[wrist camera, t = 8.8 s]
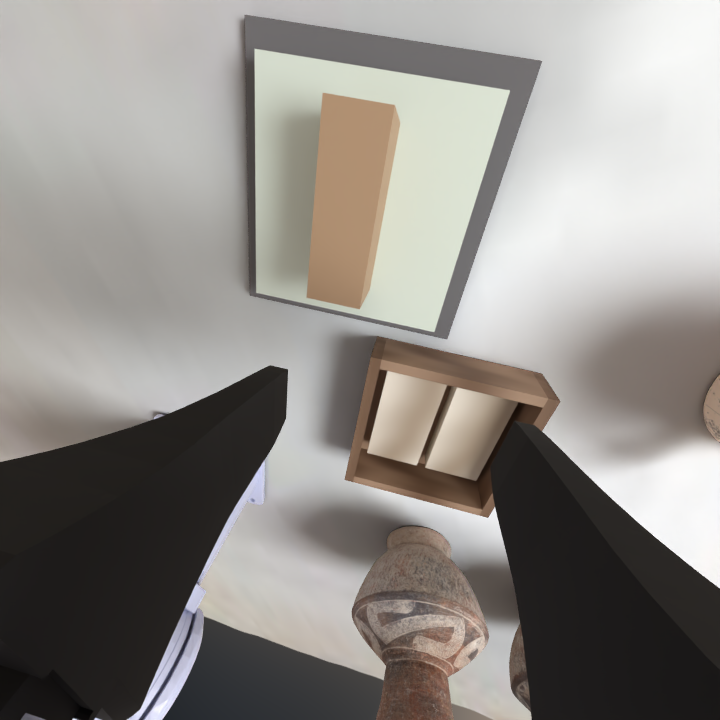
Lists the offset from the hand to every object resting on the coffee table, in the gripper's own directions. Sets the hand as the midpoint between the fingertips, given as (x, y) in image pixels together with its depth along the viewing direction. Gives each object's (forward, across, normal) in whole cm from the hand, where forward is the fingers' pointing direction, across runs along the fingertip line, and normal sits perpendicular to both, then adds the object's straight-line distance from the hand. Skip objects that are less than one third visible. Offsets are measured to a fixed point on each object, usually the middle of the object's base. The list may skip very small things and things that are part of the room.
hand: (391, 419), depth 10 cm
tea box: (+10, -4, +7) cm, 12 cm away
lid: (+8, +3, -5) cm, 10 cm away
